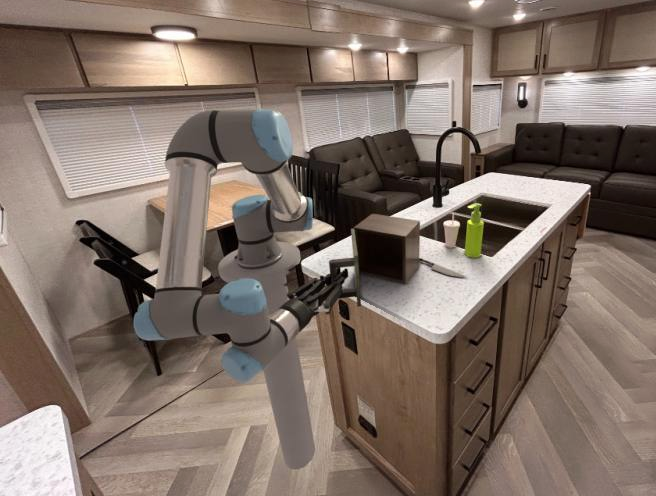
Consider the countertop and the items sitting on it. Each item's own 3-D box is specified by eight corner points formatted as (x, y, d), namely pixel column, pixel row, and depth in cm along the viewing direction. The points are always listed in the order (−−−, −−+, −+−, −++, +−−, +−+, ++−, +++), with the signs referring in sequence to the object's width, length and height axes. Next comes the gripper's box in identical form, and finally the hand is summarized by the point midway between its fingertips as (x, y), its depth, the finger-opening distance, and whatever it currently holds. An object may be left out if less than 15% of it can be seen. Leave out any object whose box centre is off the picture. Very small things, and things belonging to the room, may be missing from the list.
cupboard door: (333, 309, 91) (327, 258, 85) (333, 275, 107) (328, 230, 101) (361, 306, 92) (357, 255, 86) (357, 273, 109) (354, 228, 102)
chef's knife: (462, 281, 104) (466, 277, 106) (462, 279, 103) (466, 274, 105) (414, 263, 115) (419, 259, 117) (414, 260, 114) (419, 256, 116)
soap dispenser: (459, 253, 121) (463, 204, 113) (472, 248, 125) (476, 200, 117) (471, 260, 117) (475, 208, 109) (483, 254, 120) (489, 204, 113)
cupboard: (405, 284, 103) (405, 236, 96) (356, 272, 109) (353, 227, 103) (419, 264, 114) (420, 220, 107) (374, 255, 120) (372, 213, 114)
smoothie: (449, 250, 123) (451, 217, 118) (439, 244, 128) (440, 211, 123) (461, 246, 126) (464, 213, 121) (451, 240, 131) (453, 208, 126)
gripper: (266, 325, 79) (323, 277, 99) (316, 342, 73) (366, 287, 93) (261, 300, 76) (321, 255, 96) (312, 316, 70) (364, 265, 90)
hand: (343, 271), depth 94 cm, fingers closed on cupboard door, 2 cm apart
